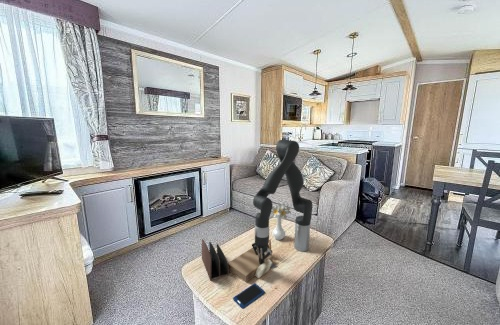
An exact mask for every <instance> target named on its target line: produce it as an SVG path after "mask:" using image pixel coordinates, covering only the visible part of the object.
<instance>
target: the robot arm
mask: <svg viewBox="0 0 500 325" xmlns="http://www.w3.org/2000/svg"><path fill="white" fill-rule="evenodd" d="M275 150H276V154H277V156H278V159H279V161H280V163H279V164H278V165H277V166H276V167H275V168H273V169H272V170H271V171H270V172H269V173H268V175H267V177H266V179H265V181H264V182H263V185H262V187H261V188H260V189H259V190H258V191H257V192H256V194H255V195H254V197H253V199H252V205H253V206H254V207H255V208H256V209H258V210H260V212H258V213H256V215H255V219H254V220H255V226H254V242H253V243H252V244H251V248H253V249H254V251H255V254H256V255H258V257H259V264H263V263H264V262H265V259H266V258H267V257H268V256H269V255H271V254H273V250H272V251H270V249H269V245H268V244H269V240H270V217H271V215H272V214H271V211H272V206H273V201H272V200H271V198H270V197H269V195H274V194H276V191H277V189H278V187H279V185H280V183H281V181H282V179H283V178H284V175H285V178H286V182H287V186H288V188H289V192H290V196H291V203H292V207H293V210H295V211H296V212H297V213H298V212H299V213H301V214H303V215H297V216H296V218H295V219H294V220H295V224H294V245H293V247H294V249H295V250H296V251H297V252H307V251H309V250H310V249H309V248H310V235H311V233H310V232H311V221H312V212H313V201H312V200H311V199H308V198H305V197H302V196H301V194H300V192H301V190H302V189H303V187H304V177H303V172H302V171H301V170H300V168H299V167H298V166H297V165H296V163H295V162H294V161H295V160H296V157H297V156H298V154H299V152H300V144H299V143H298V142H297V141H295V140H292V139H291V140H290V139H280V140H278V141H277V143H276V145H275ZM273 207H274V206H273ZM256 250H257V251H256ZM266 251H267V254H266ZM265 254H266V255H265Z"/></svg>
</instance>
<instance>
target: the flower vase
mask: <svg viewBox="0 0 500 325" xmlns="http://www.w3.org/2000/svg"><path fill="white" fill-rule="evenodd" d="M285 204H286V207H285ZM288 214H290V215H291V214H292V211H291V206H289V204H288V203H285V202H284V203H280V202H277V204H275V206H272V211H271V214H270V215H272V218H276V226H275V228H274V229H273V230H272V232H271V234H272V236H273V237H274V239H275V240H277V241H281V240H283V239H284V238H285V237H286V230H284V228H283V226H282V218H284V219H285V220H286V219H287V218H288V217H287V215H288Z"/></svg>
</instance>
